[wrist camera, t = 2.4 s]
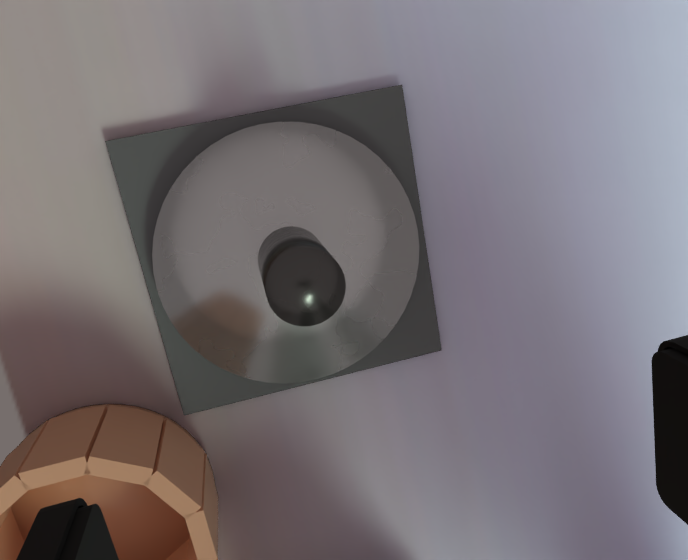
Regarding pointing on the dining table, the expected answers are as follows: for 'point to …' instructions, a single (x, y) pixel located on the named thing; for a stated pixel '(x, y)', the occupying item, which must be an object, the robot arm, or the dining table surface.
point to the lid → (285, 252)
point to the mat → (189, 141)
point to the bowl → (115, 482)
